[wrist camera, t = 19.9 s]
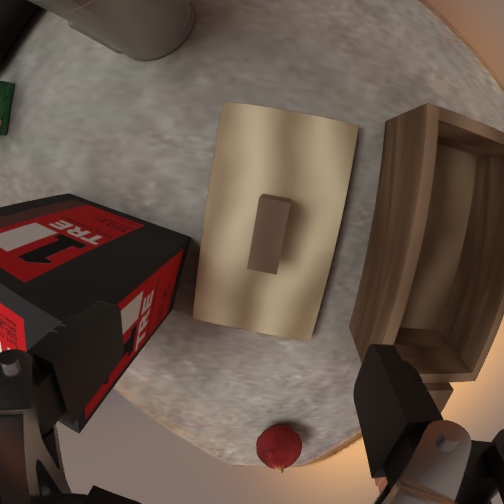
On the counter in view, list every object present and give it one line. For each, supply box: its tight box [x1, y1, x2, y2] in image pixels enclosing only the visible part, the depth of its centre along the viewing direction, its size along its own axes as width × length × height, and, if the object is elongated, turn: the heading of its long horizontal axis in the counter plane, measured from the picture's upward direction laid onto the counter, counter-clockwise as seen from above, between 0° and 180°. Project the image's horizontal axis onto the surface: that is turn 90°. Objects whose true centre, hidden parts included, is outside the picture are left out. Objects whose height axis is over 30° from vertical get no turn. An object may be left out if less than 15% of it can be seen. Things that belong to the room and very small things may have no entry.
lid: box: [193, 102, 359, 342], centre depth 28 cm, size 13×22×6 cm, turn 170°
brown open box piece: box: [349, 103, 504, 414], centre depth 25 cm, size 12×27×11 cm, turn 173°
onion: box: [256, 425, 302, 473], centre depth 34 cm, size 6×6×8 cm
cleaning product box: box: [0, 193, 191, 433], centre depth 24 cm, size 16×9×20 cm, turn 71°
